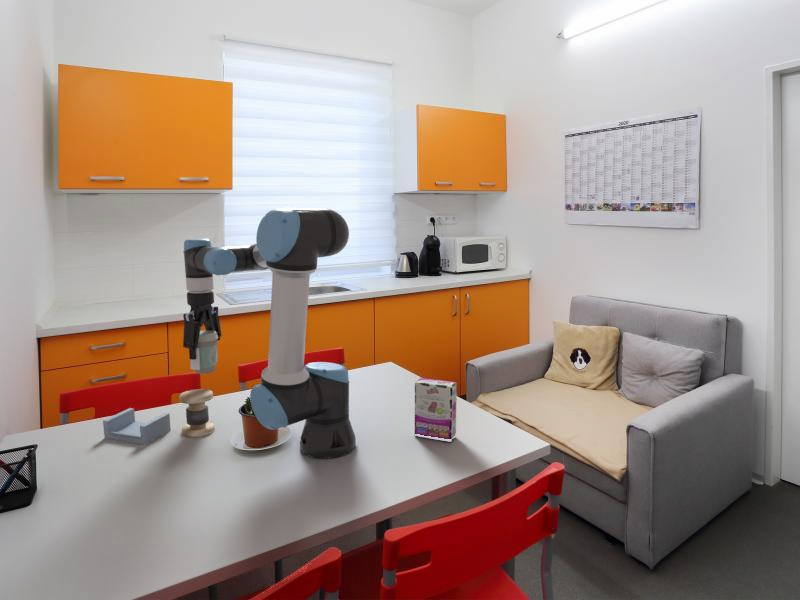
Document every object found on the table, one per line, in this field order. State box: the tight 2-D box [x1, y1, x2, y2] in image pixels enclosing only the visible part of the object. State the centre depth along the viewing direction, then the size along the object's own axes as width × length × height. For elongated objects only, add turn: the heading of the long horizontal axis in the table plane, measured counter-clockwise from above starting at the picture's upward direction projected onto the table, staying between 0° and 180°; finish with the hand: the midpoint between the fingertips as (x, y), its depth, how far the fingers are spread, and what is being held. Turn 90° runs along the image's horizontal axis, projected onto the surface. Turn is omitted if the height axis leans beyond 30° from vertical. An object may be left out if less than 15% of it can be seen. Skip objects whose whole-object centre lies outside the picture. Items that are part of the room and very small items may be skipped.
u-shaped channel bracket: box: [102, 407, 171, 445], centre depth 155 cm, size 10×14×5 cm
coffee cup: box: [194, 329, 218, 375], centre depth 164 cm, size 9×9×12 cm
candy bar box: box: [414, 377, 458, 439], centre depth 154 cm, size 11×5×16 cm, turn 68°
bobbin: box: [178, 388, 216, 439], centre depth 157 cm, size 9×9×11 cm
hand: (204, 365), depth 165 cm, fingers closed on coffee cup, 8 cm apart
